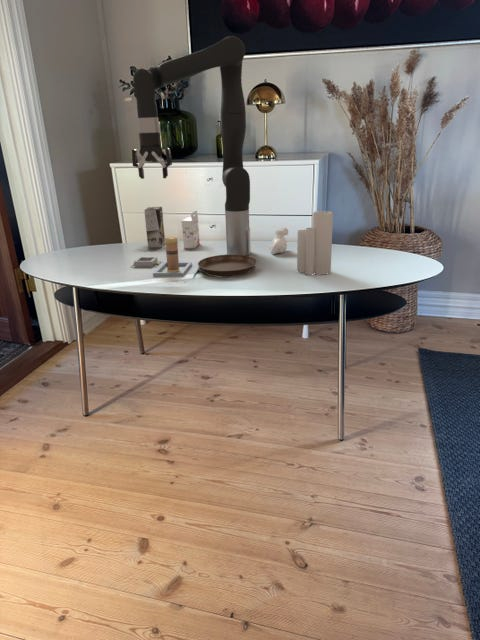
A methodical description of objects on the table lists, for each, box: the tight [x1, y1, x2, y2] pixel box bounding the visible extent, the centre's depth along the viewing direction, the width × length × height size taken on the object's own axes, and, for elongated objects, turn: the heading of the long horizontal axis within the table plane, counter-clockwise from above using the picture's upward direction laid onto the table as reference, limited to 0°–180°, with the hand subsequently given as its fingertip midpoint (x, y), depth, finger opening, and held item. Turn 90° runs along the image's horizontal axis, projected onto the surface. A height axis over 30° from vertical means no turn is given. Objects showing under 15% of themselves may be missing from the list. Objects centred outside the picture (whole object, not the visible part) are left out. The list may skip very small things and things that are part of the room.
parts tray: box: [152, 261, 193, 278], centre depth 165 cm, size 10×14×3 cm
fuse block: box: [129, 256, 163, 269], centre depth 174 cm, size 10×8×4 cm
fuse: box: [165, 236, 180, 272], centre depth 163 cm, size 4×4×12 cm
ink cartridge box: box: [180, 209, 201, 249], centre depth 204 cm, size 9×5×15 cm, turn 168°
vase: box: [296, 210, 334, 276], centre depth 159 cm, size 11×7×20 cm, turn 83°
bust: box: [269, 226, 289, 255], centre depth 189 cm, size 12×8×11 cm
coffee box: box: [143, 206, 166, 249], centre depth 207 cm, size 9×6×16 cm
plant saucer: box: [197, 254, 258, 278], centre depth 168 cm, size 21×21×3 cm
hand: (153, 178), depth 178 cm, fingers open, 8 cm apart
